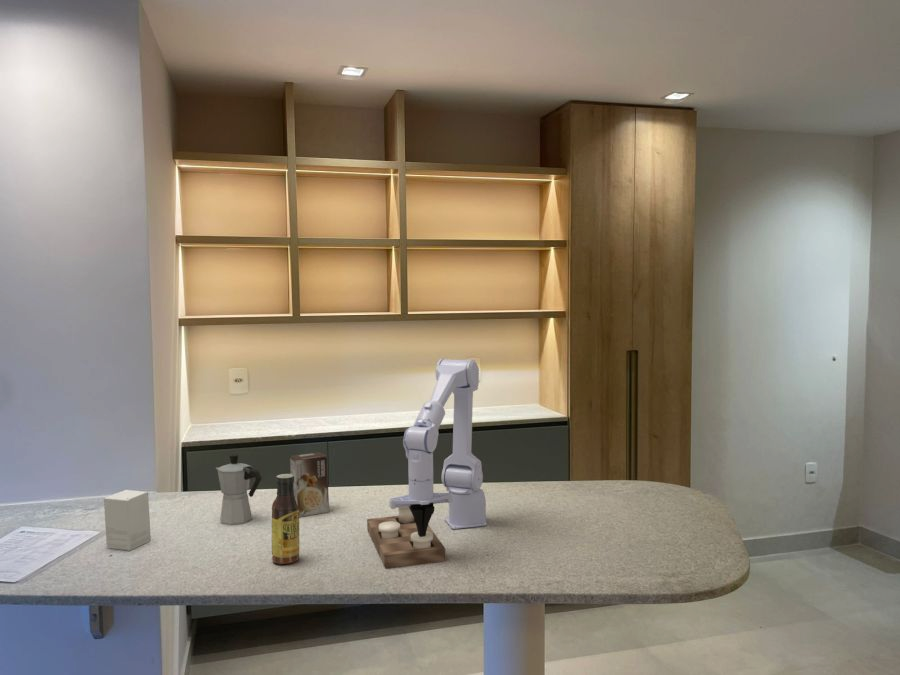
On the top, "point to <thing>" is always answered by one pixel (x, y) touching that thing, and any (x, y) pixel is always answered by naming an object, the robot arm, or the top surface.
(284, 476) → the sauce bottle
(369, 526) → the knob panel
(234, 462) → the coffee maker
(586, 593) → the top surface
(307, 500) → the coffee box
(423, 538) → the knob camera side
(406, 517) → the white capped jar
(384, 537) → the knob middle
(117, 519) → the supplement box
